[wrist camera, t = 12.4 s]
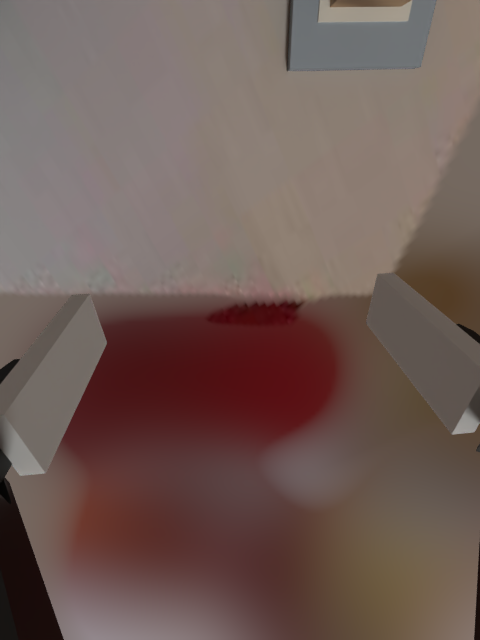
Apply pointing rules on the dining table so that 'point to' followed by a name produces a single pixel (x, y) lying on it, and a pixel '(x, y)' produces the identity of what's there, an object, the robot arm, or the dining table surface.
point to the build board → (357, 36)
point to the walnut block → (368, 3)
